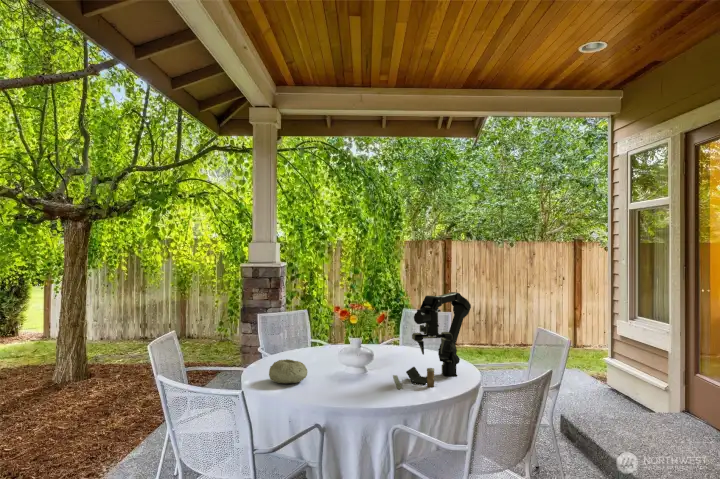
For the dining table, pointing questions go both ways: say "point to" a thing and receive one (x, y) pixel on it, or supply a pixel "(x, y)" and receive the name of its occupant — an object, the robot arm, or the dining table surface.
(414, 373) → the handheld gaming console
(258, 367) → the dining table surface
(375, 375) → the dining table surface
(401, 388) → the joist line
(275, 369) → the olive green stone
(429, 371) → the tapered tan cylinder
